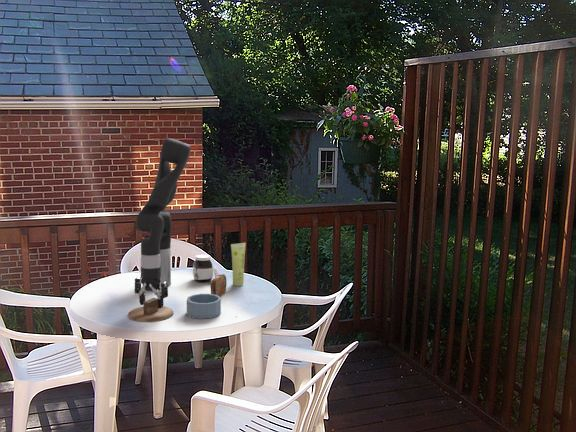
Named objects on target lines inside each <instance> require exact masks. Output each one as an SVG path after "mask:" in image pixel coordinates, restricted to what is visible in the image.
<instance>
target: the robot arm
mask: <svg viewBox="0 0 576 432" xmlns="http://www.w3.org/2000/svg"><path fill="white" fill-rule="evenodd" d="M191 151H192V148H191V144H188V143H185V142H183V141H180V140H177V139H174V138H172V137H171V138H170V137H168V138H166V139H164V141H163V142H162V146H161V148H160V155H159V163H158V169H157V174H156V179H155V182H154V185H153V186H154V187H153V188H152V190H151V193H150V196H149V197H148V198H149V199H148V201H147V202H146V203H145V205H144V206H143V207H142V209H141V210H140V211H139V213H138V214H137V217H136V219H135V226H136V229H138V230H139V231H140V232H144V233H145V232H146V233H149V234H150V235H149V237H145V238H144V237H143V239H142V238H141V240H140V241H141V242H140V277H136V278H134V293H135V294H137V295H138V297H139V298H138V299H139V305H141V306H143V302H144V301H146V292H150V293H153V294H154V295H155V296H156V298H158V308H159V309H160V308H162V307H163V306H164V299H165V298H167V297H169V291H168V290H169V288H168V287H169V286H171V284H172V282H171V281H172V279H171V277H172V273H171V272H172V271H171V270H172V264H171V261H172V260H171V255H172V254H171V247H172V246H171V242H172V216H171V213H170V212H168V211H165V209H166V208H167V207H168V205H170V204H171V202H173V200H174V198H175V196H176V192H177V189H178V181H179V179H180V177H181V176H182V174H183V171H184V169H185V167H186V164H187V163H188V161H189V159H190V154H191ZM171 164H174V165H176V166H175V167H174V169H173V170H172V169H171V167H170V166H171Z"/></svg>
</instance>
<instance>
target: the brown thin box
mask: <svg viewBox="0 0 576 432" xmlns="http://www.w3.org/2000/svg"><path fill="white" fill-rule="evenodd" d="M210 281H211V282H210V294H214V295H218V296H219V297H221V298H222V296H223V295H224V294H225V293H226V290H227V276H226V275H225V274H219V275H217V276H216V277H215V276H214V278H212V280H210Z"/></svg>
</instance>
